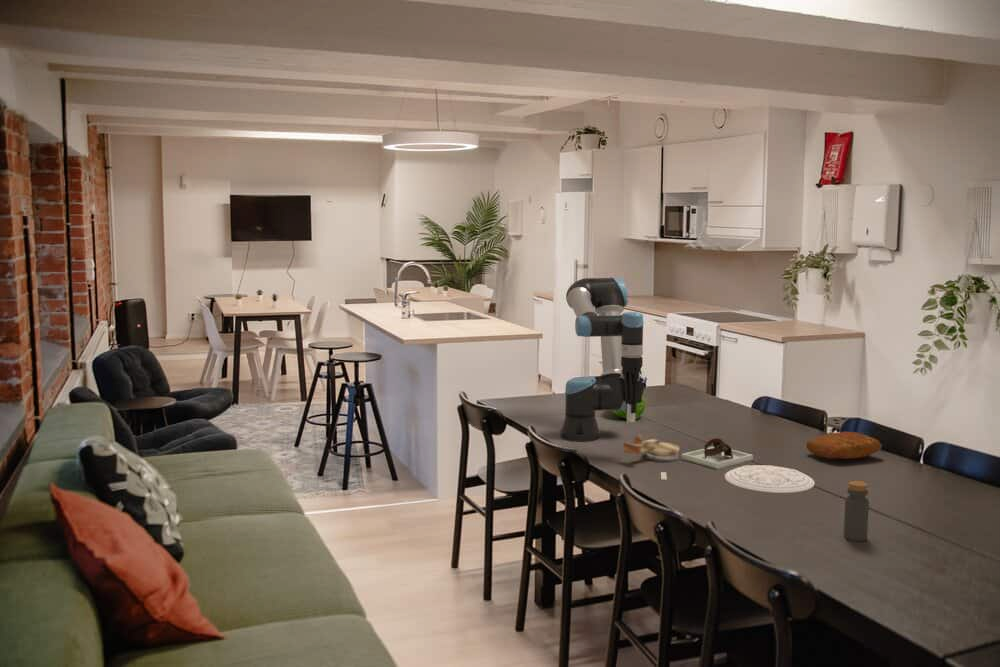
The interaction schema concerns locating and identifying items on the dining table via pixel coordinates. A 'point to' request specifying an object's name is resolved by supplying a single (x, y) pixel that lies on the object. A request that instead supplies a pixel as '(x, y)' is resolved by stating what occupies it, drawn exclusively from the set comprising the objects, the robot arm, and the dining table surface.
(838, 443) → the bread loaf
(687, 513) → the dining table surface
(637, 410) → the lettuce
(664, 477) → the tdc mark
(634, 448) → the crank
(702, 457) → the tray
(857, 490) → the bottle
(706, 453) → the pottery mug
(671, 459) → the crank housing
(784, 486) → the ceiling medallion
